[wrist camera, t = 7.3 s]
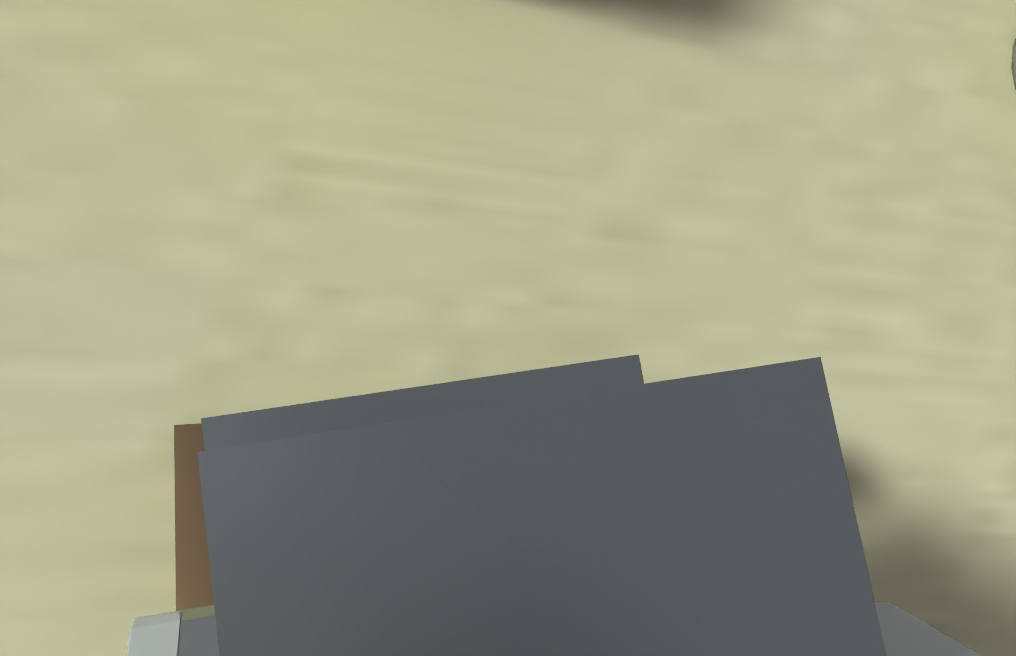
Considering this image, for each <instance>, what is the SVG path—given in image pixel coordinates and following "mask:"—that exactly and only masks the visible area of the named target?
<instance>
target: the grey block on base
mask: <svg viewBox="0 0 1016 656" xmlns="http://www.w3.org/2000/svg"><path fill="white" fill-rule="evenodd" d="M201 422H202V431H203V440H204V449H205V451H200V452H197V455H198V464H199V473H200V482H201V491H202V500H203V509H204V518H205V528H206V537H207V546H208V555H209V564H210V573H211V582H212V591H213V600H214V609H215V618H216V627H217V636H218V645H219V654H220V656H886V651H885V647H884V642H883V638H882V633H881V629H880V624H879V620H878V615H877V611H876V606H875V602H874V597H873V593H872V588H871V584H870V579H869V574H868V570H867V565H866V561H865V556H864V552H863V547H862V543H861V538H860V534H859V529H858V525H857V520H856V516H855V511H854V507H853V502H852V497H851V493H850V488H849V484H848V479H847V475H846V470H845V466H844V461H843V457H842V452H841V448H840V443H839V439H838V434H837V430H836V425H835V420H834V416H833V411H832V407H831V402H830V398H829V393H828V389H827V384H826V380H825V375H824V371H823V366H822V362H821V357H818V358H811V359H805V360H798V361H791V362H785V363H778V364H772V365H765V366H759V367H752V368H745V369H739V370H732V371H726V372H719V373H712V374H706V375H699V376H693V377H686V378H680V379H673V380H666V381H660V382H653V383H647V384H644V381H643V375H642V370H641V365H640V359H639V355H632V356H625V357H618V358H612V359H605V360H598V361H591V362H584V363H577V364H571V365H564V366H557V367H550V368H543V369H536V370H530V371H523V372H516V373H509V374H502V375H495V376H489V377H482V378H475V379H468V380H461V381H454V382H448V383H441V384H434V385H427V386H420V387H413V388H407V389H400V390H393V391H386V392H379V393H372V394H366V395H359V396H352V397H345V398H338V399H331V400H325V401H318V402H311V403H304V404H297V405H290V406H284V407H277V408H270V409H263V410H256V411H249V412H243V413H236V414H229V415H222V416H215V417H209V418H202V419H201Z"/></svg>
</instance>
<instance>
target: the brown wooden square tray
mask: <svg viewBox="0 0 1016 656" xmlns="http://www.w3.org/2000/svg"><path fill="white" fill-rule="evenodd" d="M200 451H205V449H204V440H203V431H202V424H185V425H174V455H175V545H176V611H181V610H185V609H191V608H198V607H204V606H211V605H214V600H213V591H212V582H211V573H210V564H209V555H208V546H207V537H206V528H205V518H204V509H203V500H202V491H201V482H200V473H199V464H198V455H197V452H200Z"/></svg>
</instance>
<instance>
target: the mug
mask: <svg viewBox="0 0 1016 656" xmlns="http://www.w3.org/2000/svg"><path fill="white" fill-rule="evenodd" d="M1012 73H1013V79H1014V85H1015V89H1016V39H1015V42H1014V45H1013V53H1012Z"/></svg>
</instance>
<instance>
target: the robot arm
mask: <svg viewBox="0 0 1016 656" xmlns="http://www.w3.org/2000/svg"><path fill="white" fill-rule="evenodd" d="M874 602H875V601H874ZM875 606H876V611H877V615H878V620H879V624H880V629H881V633H882V638H883V642H884V647H885V651H886V656H981V655H979V654H978V653H976V652H974V651H973V650H971V649H969V648H967V647H966V646H964V645H962V644H960V643H959V642H957V641H955V640H953V639H952V638H950V637H948V636H947V635H945V634H943V633H941V632H940V631H938V630H936V629H934V628H933V627H931V626H929V625H928V624H926V623H924V622H922V621H921V620H919V619H917V618H915V617H914V616H912V615H910V614H909V613H907V612H905V611H903V610H902V609H900V608H898V607H896V606H895V605H893V604H891V603H889V602H883V603H877V604H876V602H875ZM126 656H220V654H219V645H218V636H217V627H216V618H215V609H214V605H211V606H204V607H198V608H191V609H185V610H181V611H175V612H169V613H163V614H157V615H151V616H144V617H138V618H135V620H134V622H133V625H132V627H131V629H130V632H129V638H128V646H127V653H126Z"/></svg>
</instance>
